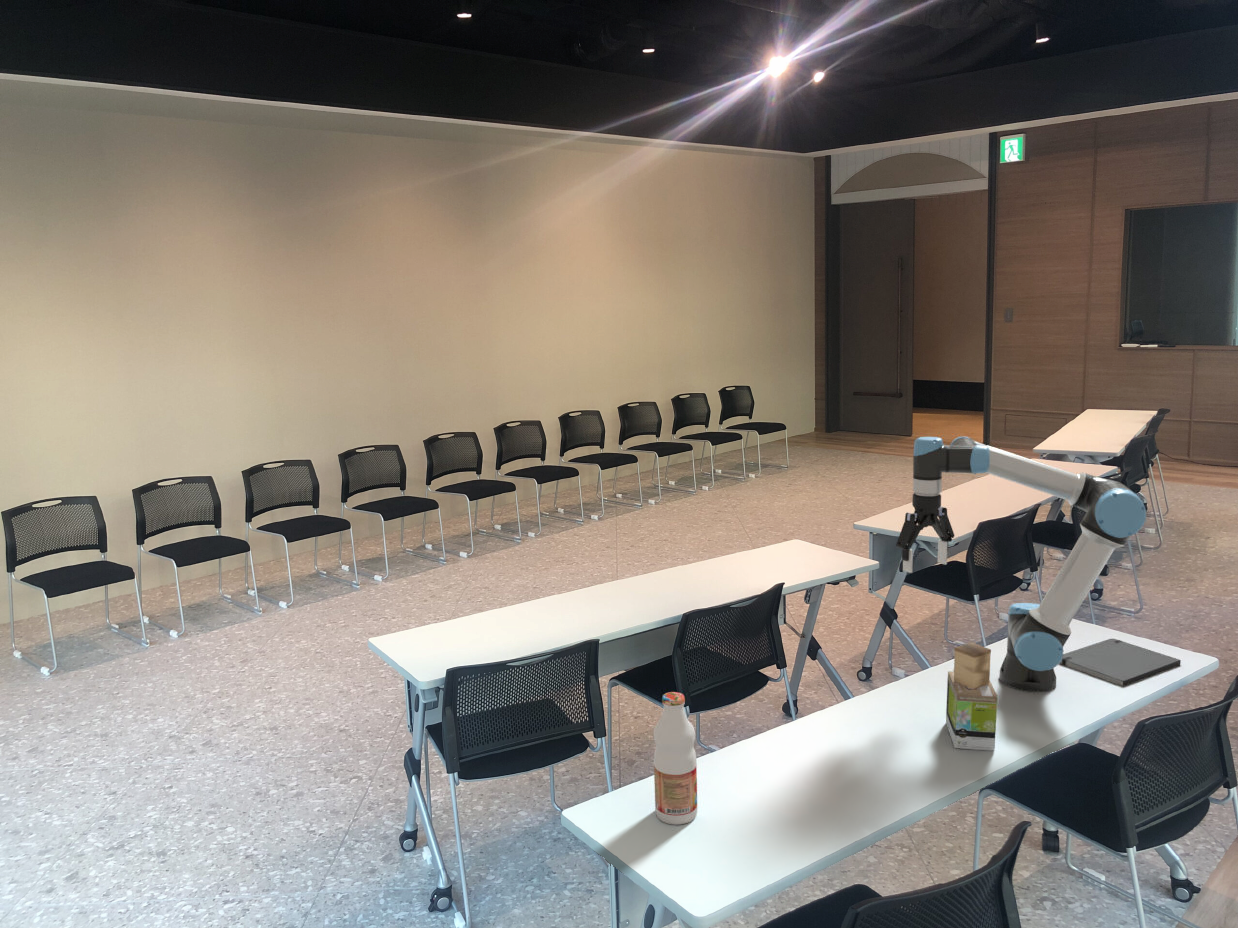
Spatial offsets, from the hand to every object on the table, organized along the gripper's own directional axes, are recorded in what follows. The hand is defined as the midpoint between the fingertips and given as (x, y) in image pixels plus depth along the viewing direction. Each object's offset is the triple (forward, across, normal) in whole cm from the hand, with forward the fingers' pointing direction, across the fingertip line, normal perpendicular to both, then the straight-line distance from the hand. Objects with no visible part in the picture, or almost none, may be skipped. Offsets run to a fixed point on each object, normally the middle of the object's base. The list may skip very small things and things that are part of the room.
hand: (925, 567), depth 257 cm
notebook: (+37, -63, +18) cm, 75 cm away
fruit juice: (+37, +94, +16) cm, 102 cm away
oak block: (+22, +11, +26) cm, 36 cm away
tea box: (+37, +11, +26) cm, 47 cm away
